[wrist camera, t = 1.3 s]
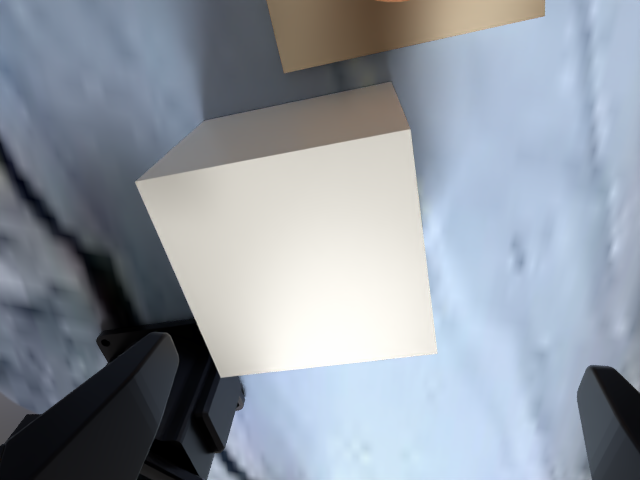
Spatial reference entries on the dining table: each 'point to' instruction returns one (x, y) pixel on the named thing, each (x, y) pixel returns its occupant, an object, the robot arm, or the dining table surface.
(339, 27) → the board
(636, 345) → the dining table surface
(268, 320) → the matte white cube
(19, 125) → the dining table surface
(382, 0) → the ball
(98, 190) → the dining table surface
